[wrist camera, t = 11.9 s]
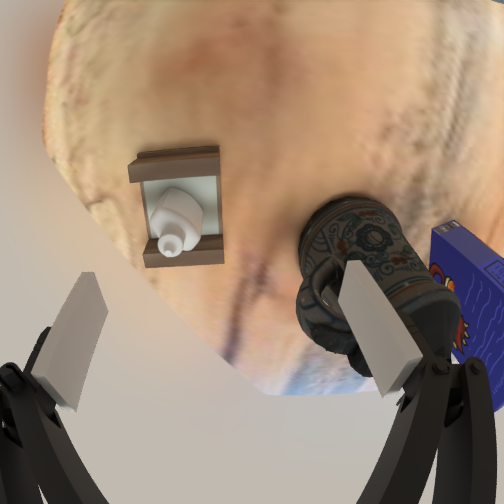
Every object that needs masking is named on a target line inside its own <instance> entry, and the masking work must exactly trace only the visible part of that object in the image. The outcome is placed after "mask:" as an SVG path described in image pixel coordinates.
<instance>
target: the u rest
mask: <svg viewBox="0 0 504 504" xmlns="http://www.w3.org/2000/svg"><path fill="white" fill-rule="evenodd" d="M128 172H129V180H130V183H136V182H140V186H141V193H142V200H143V207H144V214H145V220H146V226H147V231H148V237H149V240H148V242H147V245H146V247H145V250H144V252H143V259H144V263H145V267H146V268H157V267H175V266H193V265H210V264H224V247H223V230H222V209H221V186H220V155H219V146H206V147H192V148H179V149H169V150H159V151H150V152H142V153H138V154H137V159H136V160H134V161H133V162H132V163H130V164H129V165H128ZM170 187H173V188H177V189H180V190H182V191H184V192H186V193H188V194H189V195H191V196H192V197H193V198H194V199H195V200H196V201H197V202H198V204H199V205H200V207H201V208H202V210H203V222H202V231H201V238H200V240H199V242H198V243H197V244H196V246H195V247H194V248H193V249H192V250H190V251H184V250H182V252H181V253H180V254H179V255H177V256H175V257H166V256H165V255H163V254H162V253H161V252H160V250H159V248H158V240H159V237H158V236H157V235H156V234H155V232H154V231H153V229H152V227H151V225H150V217H151V215H152V213H153V211H154V209H155V207H156V205H157V203H158V201H159V200H160V198H161V196H162V195H163V194H164V192H165V191H166V190H167V189H168V188H170Z"/></svg>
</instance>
